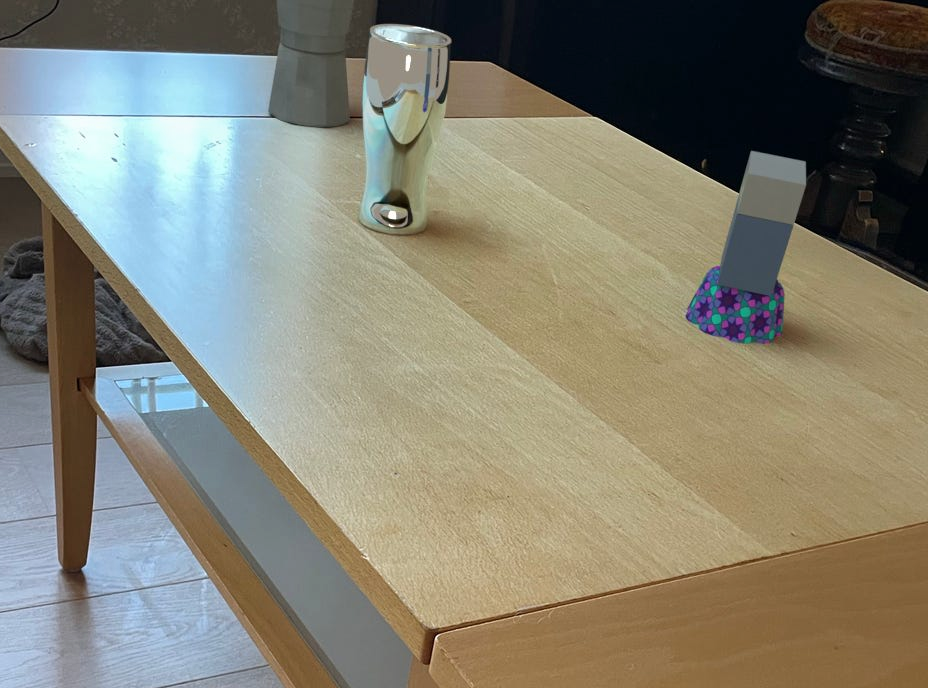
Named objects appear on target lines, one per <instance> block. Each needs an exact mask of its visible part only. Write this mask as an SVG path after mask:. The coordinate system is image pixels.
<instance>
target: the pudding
mask: <svg viewBox="0 0 928 688" xmlns="http://www.w3.org/2000/svg"><path fill="white" fill-rule="evenodd" d="M719 270H720V265H716V266H713V267H712V268H710V269H709V270H708V271H707V273H706V274H705V275H704V277H703V278H702V280H701V283H700V285H699V286H698V288H697V290H696V292H695V294H694V295H693V298H692V299H691V301H690V303H689V304H688V306H687V308H686V310H687V312H686V314H685V319H686V320H687V322H689V323H691V324H692V325H695V326H698V330H699V331H701V332H703V333H704V334H706V335H709V336H712V337H718V338H724V339H726V340H728V341H729V342H733V343H737V344H745V345H746V344H750V343H758V344H762V345H764V344H771V343H773V342H775V338H777V337H781V336H782V334H783V331H784V330H783V329H784V327H783V326H784V314H785V313H784V311H785V298H786V294H785V289H784V286H783V285H782V284H781V283H780V282H779V280H778V279H777V280H776V283H775V287H774V290H773V293H772V296H768V295H763V294H758V293H754V292H749V291H744V290H740V289H735V288H730V287H725V286H721V285H717V283H718V276H719Z"/></svg>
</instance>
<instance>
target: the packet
mask: <svg viewBox="0 0 928 688" xmlns="http://www.w3.org/2000/svg"><path fill="white" fill-rule="evenodd" d="M806 187H807V162H806V161H805V160H800V159H794V158H789V157H784V156H779V155H774V154H770V153H764V152H760V151H754V150H751V151H750V153H749V157H748V160H747V163H746V167H745V171H744V175H743V178H742V181H741V186H740V189H739V192H738V197H737V200H736V204H735V207H734V212H733V215H732V218H731V221H730V225H729V229H728V231H727V232H728V233H727V235H726V240H725V242H724V247H723V251H722V253H721V254H722V255H721V258H720V263H719V266H720V270H719V276H718V283H717V285H721V286H725V287H730V288H735V289H740V290H744V291H749V292H754V293H758V294H763V295H768V296H772V293H773V290H774V287H775V283H776V280H778V276H779V273H780V270H781V267H782V264H783V260H784V257H785V254H786V251H787V248H788V244H789V242H790V238H791V236H792V232H793V228H794V225H795V222H796V219H797V216H798V213H799V209H800V206H801V203H802V200H803V197H804V193H805V190H806Z"/></svg>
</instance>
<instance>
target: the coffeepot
mask: <svg viewBox="0 0 928 688" xmlns="http://www.w3.org/2000/svg"><path fill="white" fill-rule="evenodd" d="M354 4H355V0H276V10H277V21H278V22H277V23H278V26H279V27H280V36H279V37H280V39H279V40H280V42H279V45H278V50H277V57H276V63H275V68H274V74H273V79H272V86H271V92H270V97H269V103H268V110H267V112H268V113H269V114H270V115H271V116H272V117H274V118H276V119H278V120H280V121H283V122H286V123H290V124H292V125H298V126H306V127H313V128H314V127H315V128H331V127H338V126H343V125H345V124H347V123H349V122H350V121H351V116H350V115H351V113H350V100H349V99H350V98H349V84H348V71H347V57H346V55H347V54H346V39H347V37H346V36H347V35H348V34H349V32H350V31H349V30H350V26H351V20H352V15H353V9H354Z"/></svg>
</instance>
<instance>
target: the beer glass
mask: <svg viewBox="0 0 928 688" xmlns="http://www.w3.org/2000/svg"><path fill="white" fill-rule="evenodd" d="M368 35H369V36H368V42H367V49H366V56H365V63H364V69H363V80H362V91H361V92H362V93H361V95H362V96H361V112H362V131H363V142H364V143H363V144H364V154H365V155H364V156H365V180H364V188H363V193H362V196H361V201H360V204H359V208H358V212H357V219H358V220H357V221H359V223H360V224H361V225H363V226H364V227H365V228H368V229H370V230H373V231H375V232H378V233H382V234H389V235H396V236H397V235H398V236H399V235H400V236H405V235H406V236H407V235H415V234H419V233H422V232H424V231H425V230H426V229H427V227H428V207H427V205H428V204H427V191H428V181H429V175H430V172H431V167H432V163H433V160H434V156H435V153H436V149H437V146H438V142H439V139H440V135H441V132H442V129H443V124H444V119H445V115H446V109H447V102H448V96H449V85H450V69H451V50H452V49H451V47H452V39H451V37H450V36H448V35H447V34H444V33H442V32H440V31H437V30H434V29H430V28H427V27H422V26H416V25H410V24H399V23H382V24H376V25H373V26H371V27H370V28H369V34H368Z"/></svg>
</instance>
